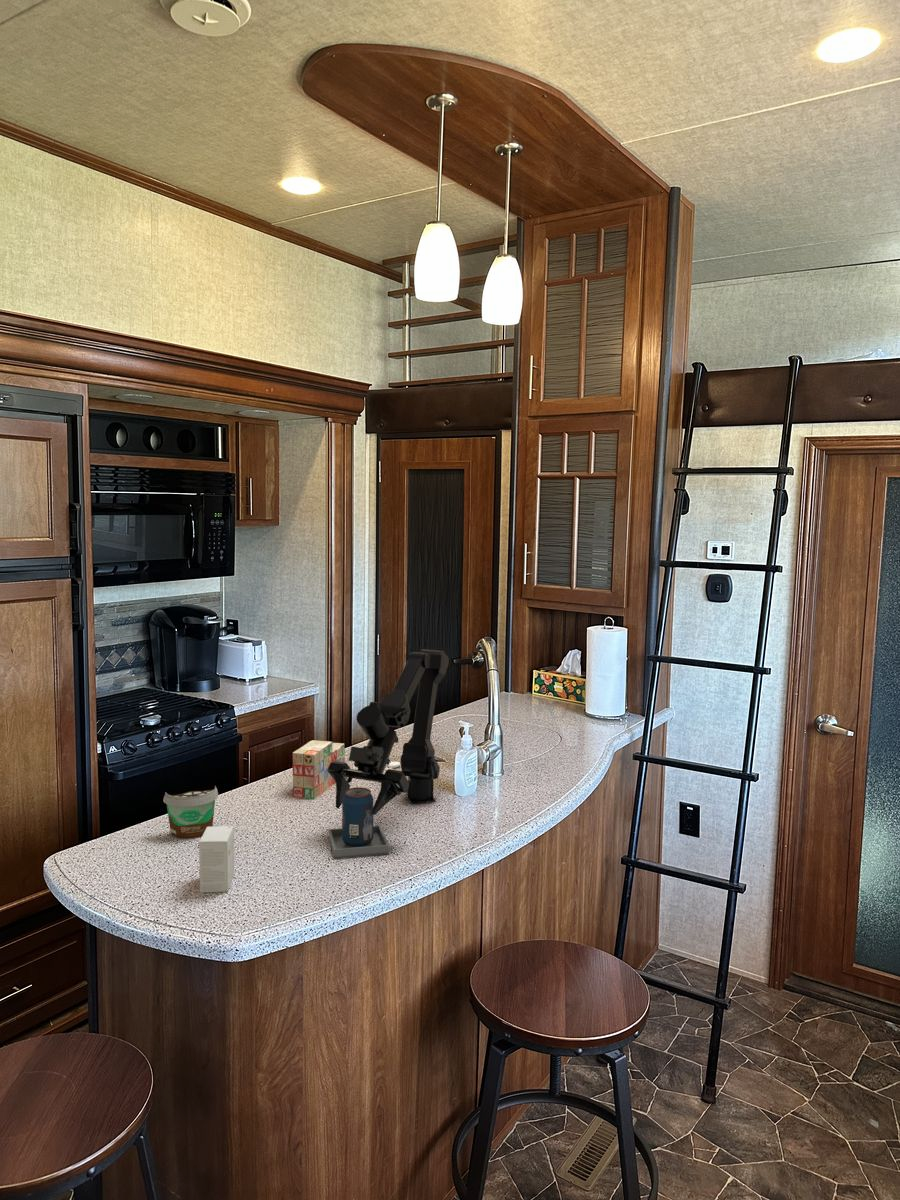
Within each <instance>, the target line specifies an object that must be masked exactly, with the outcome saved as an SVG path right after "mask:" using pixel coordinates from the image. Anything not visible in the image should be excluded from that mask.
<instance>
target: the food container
mask: <svg viewBox="0 0 900 1200" xmlns="http://www.w3.org/2000/svg"><path fill="white" fill-rule="evenodd" d="M163 796H164V797H163V803H164V804H166V809H167V815H168V823H169V831H170V835H171V836H172V837H175V838H177V839H183V840H184V839H186V840H188V839H197V838H201V837H202V835H203V834H204V832H205V830H206V828H207V827H214V825H213V824H214V818H215V817H214V816H215V813H214V812H215V807H216V806H215V805H216V800H217V799H218V798H219V792H218V788H217V786H216V785H215V786H214V789H213V788H212V789H209V790H208V789H207V790H190V791H186V792H183V793H179V794H173V795H171V794H168V793H167V792H164V795H163Z"/></svg>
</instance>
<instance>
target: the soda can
mask: <svg viewBox="0 0 900 1200" xmlns="http://www.w3.org/2000/svg"><path fill="white" fill-rule="evenodd" d="M373 807H374V797H373V794H372V791H371V789H369V788H366V787H360V786H359V787H350V788H349V789H347V790H346V791H345V795H344V797H343V799H342V804H341V809H342V810H341V816H342V817H341V821H342V823H341V828H342V839H343V841H344V843H345V845H346V846H348V847H350V848H354V847H365V846H368V845H370V843H371V841H372V840H373V826H374V815H373V814H372V811H373Z"/></svg>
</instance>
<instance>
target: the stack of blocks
mask: <svg viewBox="0 0 900 1200" xmlns="http://www.w3.org/2000/svg"><path fill="white" fill-rule="evenodd" d="M345 751H346V749H345V743H343V742H342V743H341V742H333V741H329V740H327V741H326V740H313V739H312V740H310V741H308V742H306V744H304V745H302V746H301V747H300V748H297V749H296V750H295V751H293V752H292V797H293V798H296V799H308V800H316V799H317V798H318V797H320V796H322V795H323V794H324V793H325V792H326V791H327V790H329V789H330V788H331V787H332V786H333V785H334V784H336V781H335V780H334V779H333V778H332V776H331V775H330V774H329V773H328V771H327V769H328V766H329V764H330V763H331V762H333V761H338V762H344V763H346V754H345Z"/></svg>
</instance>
